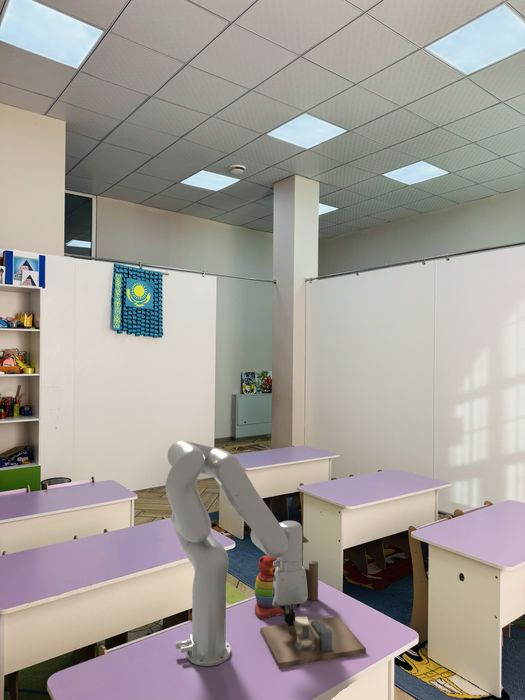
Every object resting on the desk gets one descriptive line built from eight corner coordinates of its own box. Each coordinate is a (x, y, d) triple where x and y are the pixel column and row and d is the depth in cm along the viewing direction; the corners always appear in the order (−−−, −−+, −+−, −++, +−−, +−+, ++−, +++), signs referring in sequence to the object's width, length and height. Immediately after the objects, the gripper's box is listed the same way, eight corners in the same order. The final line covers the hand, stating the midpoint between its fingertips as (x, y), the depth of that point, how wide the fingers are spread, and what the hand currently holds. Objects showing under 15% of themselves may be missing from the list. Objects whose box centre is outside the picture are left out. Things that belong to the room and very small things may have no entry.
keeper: (322, 653, 138) (322, 633, 138) (310, 637, 146) (310, 618, 146) (331, 651, 139) (332, 631, 139) (320, 635, 147) (320, 616, 147)
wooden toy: (278, 608, 166) (279, 533, 167) (271, 599, 172) (271, 526, 173) (319, 600, 172) (320, 527, 173) (310, 592, 178) (311, 522, 179)
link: (315, 648, 140) (315, 632, 140) (298, 648, 139) (298, 632, 140) (308, 623, 153) (308, 608, 153) (292, 623, 153) (292, 608, 153)
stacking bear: (259, 620, 158) (259, 564, 159) (248, 606, 168) (248, 553, 168) (290, 613, 162) (290, 559, 163) (277, 600, 172) (277, 548, 172)
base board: (278, 668, 134) (278, 662, 134) (260, 632, 151) (260, 626, 151) (365, 653, 141) (365, 647, 141) (338, 620, 158) (338, 615, 158)
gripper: (270, 571, 146) (269, 634, 145) (317, 565, 150) (317, 626, 149) (262, 561, 153) (262, 621, 153) (308, 556, 157) (307, 614, 157)
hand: (289, 624), depth 151 cm, fingers closed
